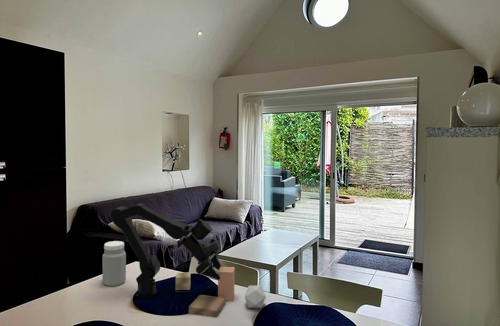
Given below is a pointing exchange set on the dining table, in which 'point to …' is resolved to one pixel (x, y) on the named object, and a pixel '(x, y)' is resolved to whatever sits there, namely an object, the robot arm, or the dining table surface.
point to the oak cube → (183, 281)
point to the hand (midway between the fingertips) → (221, 274)
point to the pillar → (226, 283)
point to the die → (255, 296)
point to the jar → (114, 263)
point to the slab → (207, 305)
